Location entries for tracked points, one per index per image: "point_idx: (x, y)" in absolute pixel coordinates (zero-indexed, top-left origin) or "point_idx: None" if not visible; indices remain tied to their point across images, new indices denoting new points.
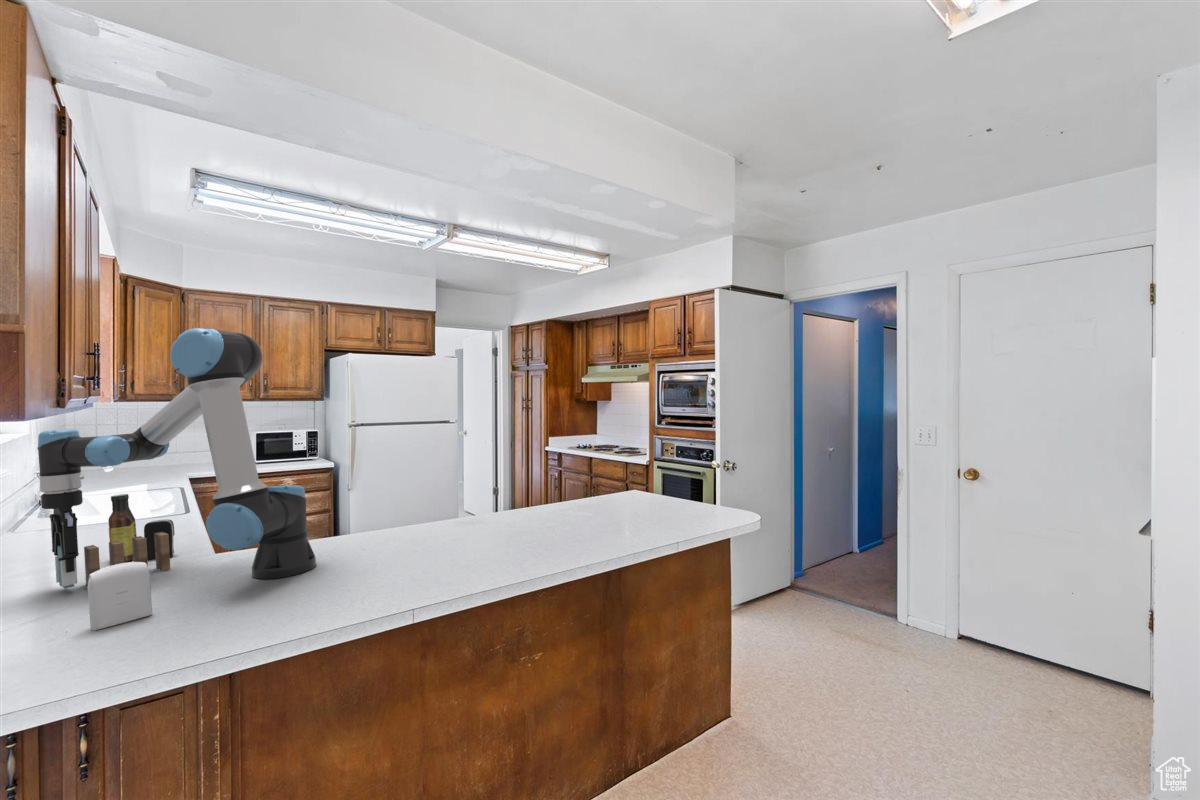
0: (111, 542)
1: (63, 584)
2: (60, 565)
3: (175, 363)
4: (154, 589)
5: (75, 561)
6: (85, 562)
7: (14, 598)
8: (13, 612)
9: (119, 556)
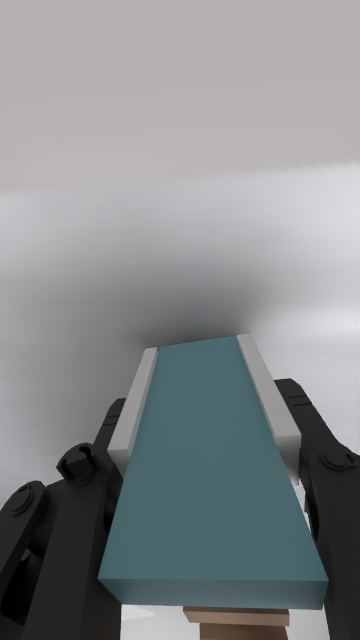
0: (258, 615)
1: (143, 354)
2: (204, 405)
3: None
4: (42, 462)
5: None
6: None
7: (273, 190)
8: (28, 205)
9: None
